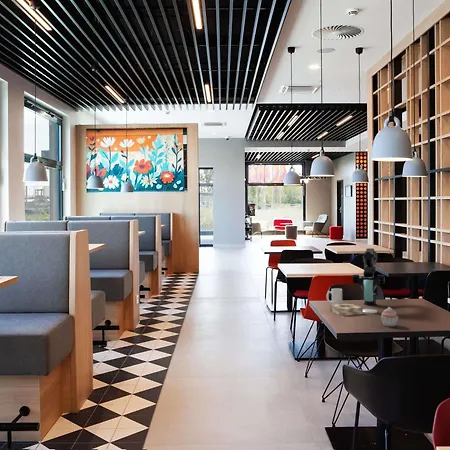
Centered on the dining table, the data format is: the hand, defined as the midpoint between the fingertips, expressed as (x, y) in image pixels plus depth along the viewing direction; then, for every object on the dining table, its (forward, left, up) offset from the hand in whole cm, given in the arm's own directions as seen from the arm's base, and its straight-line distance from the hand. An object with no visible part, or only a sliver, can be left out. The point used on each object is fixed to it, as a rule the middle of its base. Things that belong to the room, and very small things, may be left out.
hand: (368, 290), depth 295 cm
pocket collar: (+13, -4, -13) cm, 19 cm away
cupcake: (+11, +35, -14) cm, 39 cm away
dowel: (-1, -1, -7) cm, 7 cm away
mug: (+11, -21, -13) cm, 27 cm away
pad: (-1, -1, -13) cm, 13 cm away
